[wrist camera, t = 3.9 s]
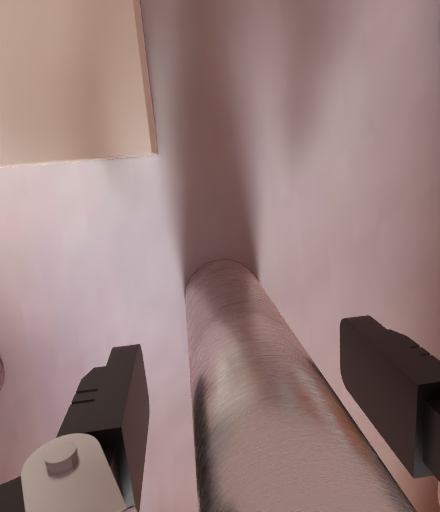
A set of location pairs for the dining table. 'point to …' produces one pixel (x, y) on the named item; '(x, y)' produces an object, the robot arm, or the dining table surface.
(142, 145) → the socket block
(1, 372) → the short pin
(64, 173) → the dining table surface
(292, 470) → the tall pin
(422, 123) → the dining table surface
